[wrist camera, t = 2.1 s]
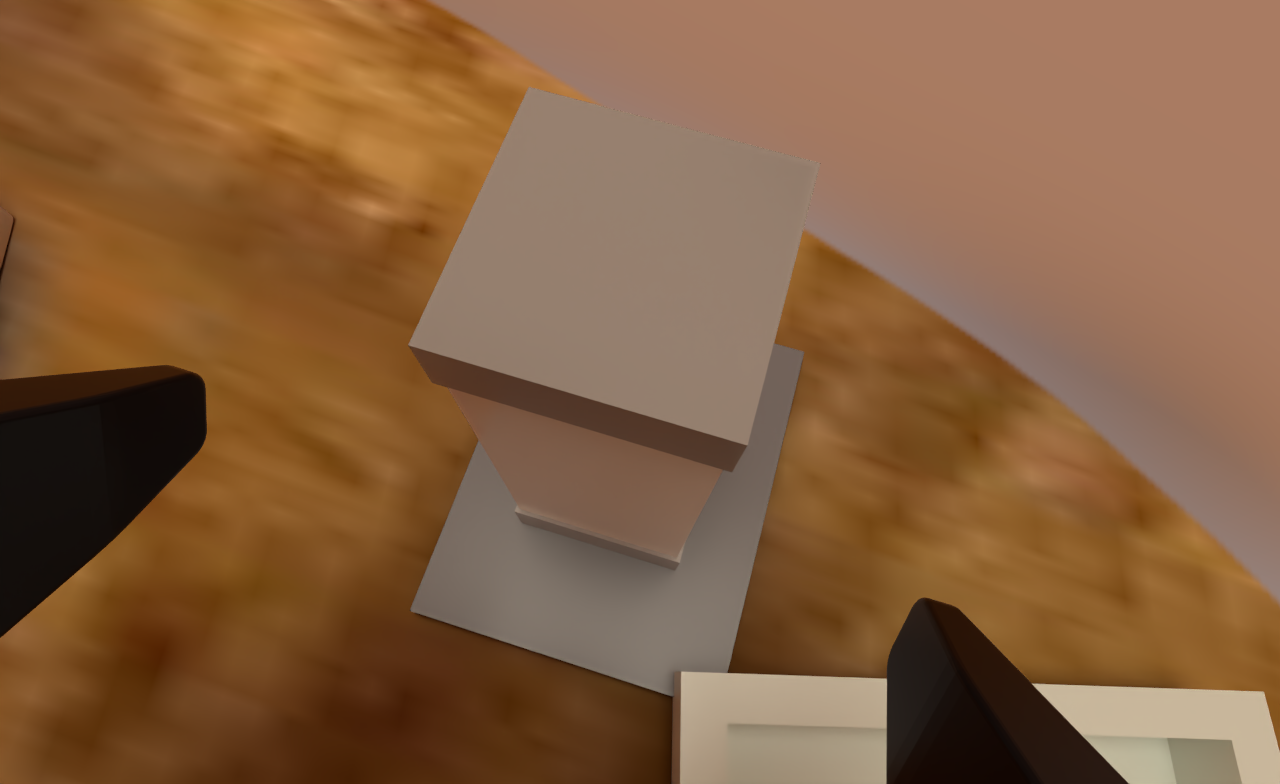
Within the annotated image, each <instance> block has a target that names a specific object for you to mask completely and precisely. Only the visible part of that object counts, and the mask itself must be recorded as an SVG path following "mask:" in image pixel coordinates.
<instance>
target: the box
mask: <svg viewBox="0 0 1280 784" xmlns="http://www.w3.org/2000/svg"><path fill="white" fill-rule="evenodd" d="M12 224H13V217H12V215H11V214H10V213H8V212H7V211H6V210H5V209H3V208H2V207H1V206H0V269H1V266H2V262H3V258H4V254H5V251H6V247H7V244H8V240H9V236H10V232H11V229H12Z"/></svg>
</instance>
